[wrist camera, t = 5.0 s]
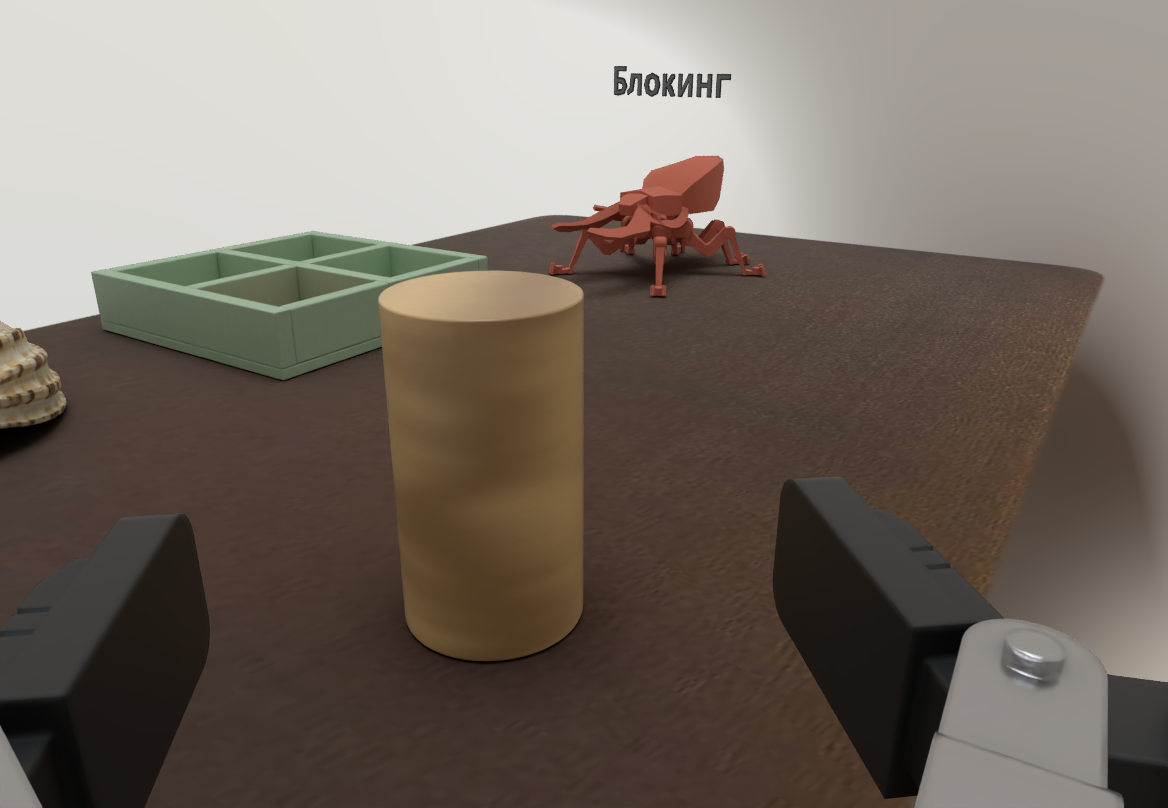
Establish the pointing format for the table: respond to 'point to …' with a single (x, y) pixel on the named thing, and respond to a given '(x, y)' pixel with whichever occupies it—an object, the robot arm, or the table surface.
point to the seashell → (26, 382)
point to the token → (487, 458)
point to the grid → (268, 299)
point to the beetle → (663, 201)
